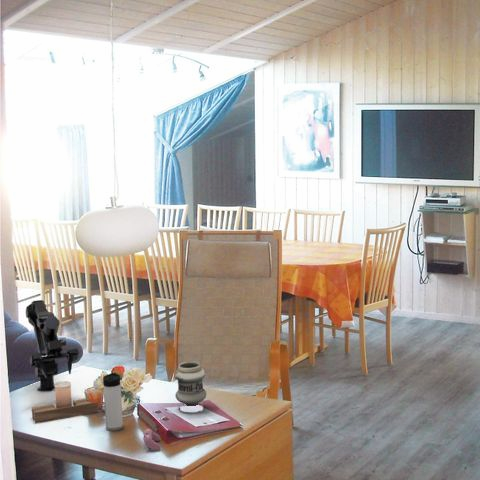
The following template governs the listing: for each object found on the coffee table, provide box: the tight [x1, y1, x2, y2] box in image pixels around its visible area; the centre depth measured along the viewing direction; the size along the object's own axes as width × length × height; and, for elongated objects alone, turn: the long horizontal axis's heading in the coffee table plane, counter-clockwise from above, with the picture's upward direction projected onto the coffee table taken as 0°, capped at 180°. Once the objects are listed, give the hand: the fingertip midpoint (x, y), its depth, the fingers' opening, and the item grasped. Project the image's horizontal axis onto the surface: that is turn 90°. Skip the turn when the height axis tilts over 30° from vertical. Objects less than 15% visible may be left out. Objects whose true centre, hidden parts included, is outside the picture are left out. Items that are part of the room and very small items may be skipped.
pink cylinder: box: [54, 380, 73, 408], centre depth 314 cm, size 6×6×12 cm
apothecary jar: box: [174, 361, 207, 406], centre depth 314 cm, size 12×12×18 cm
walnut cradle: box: [31, 397, 99, 424], centre depth 314 cm, size 7×24×4 cm, turn 114°
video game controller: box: [142, 428, 162, 452], centre depth 280 cm, size 10×5×7 cm, turn 5°
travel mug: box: [102, 372, 124, 432], centre depth 297 cm, size 6×7×20 cm
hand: (58, 375), depth 320 cm, fingers open, 9 cm apart
